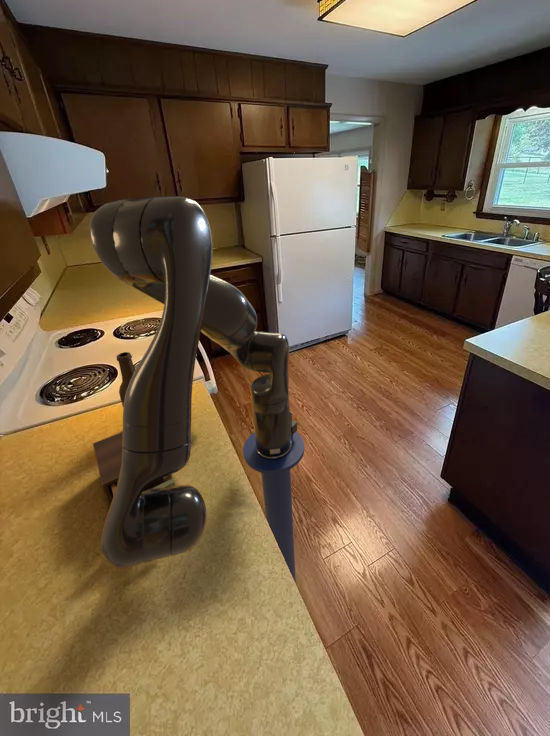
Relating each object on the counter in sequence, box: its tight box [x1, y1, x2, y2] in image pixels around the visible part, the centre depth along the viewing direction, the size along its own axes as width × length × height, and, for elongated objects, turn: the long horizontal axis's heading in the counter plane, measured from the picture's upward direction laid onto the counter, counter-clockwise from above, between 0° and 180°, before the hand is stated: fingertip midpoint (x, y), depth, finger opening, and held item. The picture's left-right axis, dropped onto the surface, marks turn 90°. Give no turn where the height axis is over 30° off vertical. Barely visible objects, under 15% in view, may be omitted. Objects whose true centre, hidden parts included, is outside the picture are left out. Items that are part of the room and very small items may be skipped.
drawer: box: [111, 476, 176, 496], centre depth 69 cm, size 18×11×8 cm, turn 36°
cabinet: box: [92, 431, 173, 506], centre depth 77 cm, size 15×13×10 cm
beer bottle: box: [116, 351, 136, 409], centre depth 91 cm, size 8×8×24 cm
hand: (149, 510), depth 65 cm, fingers closed
